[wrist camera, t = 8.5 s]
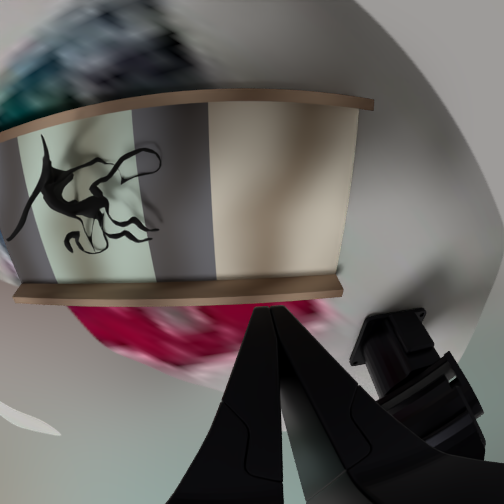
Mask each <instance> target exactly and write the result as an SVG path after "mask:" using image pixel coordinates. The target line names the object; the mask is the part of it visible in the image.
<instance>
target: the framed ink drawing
mask: <svg viewBox="0 0 504 504" xmlns="http://www.w3.org/2000/svg"><path fill="white" fill-rule="evenodd" d="M359 109H364V110H370V111H373V110H374V99H368V98H362V97H355V96H349V95H341V94H333V93H324V92H314V91H302V90H286V89H255V88H237V89H206V90H191V91H179V92H168V93H159V94H151V95H144V96H137V97H131V98H124V99H119V100H113V101H108V102H103V103H98V104H93V105H89V106H84V107H80V108H76V109H72V110H68V111H64V112H61V113H57V114H53V115H50V116H47V117H43V118H40V119H37V120H34V121H31V122H28V123H25V124H22V125H19V126H16V127H13V128H11V129H8V130H5V131H3V132H0V230H1V233H2V236H3V239H4V241H5V244H6V247H7V249H8V252H9V255H10V257H11V260H12V262H13V264H14V267H15V269H16V272H17V274H18V276H19V278H20V281H21V283H22V284H21V285H20V287H19V288H18V289H17V291H16V292H15V294H14V295H13V299H14V301H15V303H24V304H42V305H66V306H109V307H155V306H202V305H228V304H249V303H266V302H282V301H296V300H309V299H321V298H333V297H342V294H343V290H344V289H343V287H342V285H341V283H340V282H339V280H338V278H337V276H336V269H337V264H338V259H339V254H340V249H341V243H342V238H343V232H344V226H345V221H346V214H347V208H348V202H349V195H350V188H351V181H352V173H353V165H354V157H355V148H356V138H357V128H358V116H359ZM41 134H42V135H43V137H44V139H45V142H46V145H47V148H48V151H49V156H50V158H49V159H50V160H51V162H52V167H54V168H56V169H59V170H63V171H67V170H69V169H72V168H75V167H77V166H80V165H82V164H85V163H87V162H89V161H91V160H92V159H94V158H96V157H100V158H101V159H102V160H103V161H105V162H106V163H113V164H114V165H115V163H116V162H117V161H118V159H119V158H120V157H121V156H123V155H124V154H126V153H128V152H131V151H133V150H136V149H138V148H149V149H152V150H154V151H155V152H157V153H158V155H159V156H160V158H161V168H160V169H159V170H158V171H157V172H155V173H153V174H148V175H144V176H139V177H135V178H133V179H131V180H129V181H127V182H125V183H123V184H122V185H121V176H122V177H123V178H124V179H127V178H131V177H133V176H136V175H139V174H141V173H150V172H154V171H156V170H157V169H158V168H159V162H160V161H159V159H158V158H157V156H156V154H153V153H149V152H145V151H142V152H140V153H138V154H136V155H134V156H132V157H130V158H128V159H126V160H125V161H123V163H122V164H121V165H120V167H119V168H118V169H119V170H117V171H116V172H115V174H114V175H113V177H112V178H110V179H109V180H108V181H107V182H104V183H100V184H99V185H98V186H97V187H99V189H100V190H101V191H102V192H103V196H105V197H106V198H107V199H108V201H109V215H110V216H111V218H112V219H113V220H116V221H118V222H123V221H128V220H129V219H130V218H131V217H133V216H134V217H137V218H138V219H139V220H140V221H141V223H142V224H143V225H144V226H145V227H146V228H148V229H155V228H158V229H159V231H153V232H150V231H149V232H145V231H143V230H141V229H139V228H138V227H137V226H136V225H135V224H132V223H131V224H130V225H129V226H126V227H120V226H117V225H115V224H114V223H113V222H112V221H111V220H110V218H109V217H108V215H107V213H106V211H105V207H104V208H101V209H100V211H101V213H102V214H103V213H104V217H103V229H104V231H105V232H106V233H109V234H115V233H121V232H122V231H123V230H127V231H129V232H131V233H132V234H133V235H134V236H135V237H136V238H137V239H139V240H143V239H145V238H153V239H152V240H149V241H145V242H141V243H135V242H134V241H132V240H129V239H128V238H127V237H126V236H123V237H121V238H118V239H112V238H109V237H108V236H107V235H106V234H105V235H106V238H107V241H108V249H106V250H105V251H103V252H101V253H98V254H87V253H85V252H83V251H82V250H80V249H79V248H78V246H77V245H76V242H75V238H71V239H70V241H69V242H70V244H71V246H72V249H73V253H71V252H70V251H68V250H67V248H66V247H65V244H64V239H65V237H66V235H67V234H68V233H70V232H71V231H80V238H79V242H80V244H81V245H82V247H83V249H84V250H85V251H87V252H91V253H96V252H100V251H102V250H103V249H105V248H106V244H107V243H106V241H105V239H104V236H103V232H102V230H101V227H100V226H99V222H98V220H97V219H95V221H94V225H93V220H94V219H93V218H88V217H85V216H82V215H76V216H78V217H80V218H81V219H82V221H83V225H84V228H85V231H86V233H87V235H88V236H89V237H90V236H91V232H92V243H93V247H94V249H95V251H94V249H93V247H92V246H91V243H90V242H89V240H88V238H87V236H86V234H85V232H84V228H83V225H82V223H81V222H80V221H79V220H78V219H75V218H71V217H68V216H66V215H64V214H61V213H58V212H56V211H54V210H52V209H51V208H50V207H49V206H48V205H47V204H46V202H45V200H44V199H43V195H42V193H41V192H40V193H39V194H38V196H37V197H36V199H35V200H34V202H33V204H32V205H31V207H30V210H29V212H28V216H27V219H26V222H25V224H24V226H23V228H22V229H21V230H20V232H19V233H18V234H17V235H16V236H15V237H14V238H13V239H12V240H11V241H9V242H8V241H7V240H6V239H7V238H9V237H10V236H11V234H12V233H13V231H14V230H15V229H16V227H17V225H18V223H19V220H20V218H21V216H22V213H23V210H24V208H25V206H26V203H27V202H28V200H29V198H30V196H31V194H32V192H33V191H34V189H35V187H36V185H37V183H38V181H39V178H40V176H41V172H42V165H43V160H42V159H43V156H44V148H43V143H42V138H41ZM114 165H111V164H103V163H100V162H97V163H95V164H93V165H91V166H87V167H84V168H81V169H79V170H77V171H75V172H73V174H74V177H73V180H72V181H71V182H69V183H68V184H67V185H66V186H65V188H64V190H63V193H62V196H63V198H64V199H65V200H66V201H68V202H69V201H72V200H77V201H78V202H79V201H82V200H84V199H86V198H88V197H90V196H93V194H92V193H91V192H90V190H89V188H90V186H91V184H92V183H93V182H95V181H96V180H98V179H99V178H101V177H105V176H106V175H107V174H108V173H109V172H110V171H111V169H112V168H113V166H114ZM119 171H120V172H119ZM120 174H121V175H120ZM92 226H93V231H92Z"/></svg>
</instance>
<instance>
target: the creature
mask: <svg viewBox="0 0 504 504" xmlns="http://www.w3.org/2000/svg"><path fill="white" fill-rule="evenodd" d="M41 138H42V143H43V148H44V156H43V159H42V160H43V165H42V172H41V176H40V178H39V181H38V183H37V185H36V187H35V189H34V191H33V192H32V194H31V196H30V198H29V200H28V202H27V203H26V206H25V208H24V210H23V213H22V216H21V218H20V220H19V223H18V225H17V227H16V229H15V230H14V231H13V233H12V234H11V236H10V237H9V238H7V239H6V240H7V241H8V242H9V241H11V240H12V239H13V238H14V237H15V236H16V235H17V234H18V233H19V232H20V230H21V229H22V228H23V226H24V224H25V222H26V219H27V216H28V212H29V210H30V207H31V205H32V204H33V202H34V200H35V199H36V197H37V196H38V194H39V193H40V192H41V193H42V195H43V199H44V200H45V202H46V204H47V205H48V206H49V207H50V208H51V209H52V210H54V211H56V212H58V213H61V214H64V215H66V216H68V217H71V218H75V219H78V220H79V221H80V222H81V223H82V225H83V221H82V219H81V218H80V217H78V216H76V215H82V216H85V217H88V218H93V219H94V220H93V225H94V221H95V219H97V220H98V222H99V226H100V227H101V230H102V232H103V236H104V239H105V241H106V243H107V244H106V248H105V249H103V250H102V251H100V252H96V253H91V252H87V251H85V250H84V249H83V247H82V245H81V244H80V242H79V238H80V231H71V232H70V233H68V234H67V235H66V237H65V239H64V244H65V247H66V248H67V250H68V251H70V252H71V253H73V249H72V246H71V244H70V242H69V241H70V239H71V238H75V242H76V245H77V246H78V248H79V249H80V250H82V251H83V252H85V253H87V254H98V253H101V252H103V251H105V250H106V249H108V241H107V238H106V235H107V236H108V237H109V238H112V239H118V238H121V237H123V236H126V237H127V238H128V239H129V240H132V241H134V242H135V243H141V242H145V241H149V240H152V239H153V238H145V239H143V240H139V239H137V238H136V237H135V236H134V235H133V234H132V233H131V232H129V231H127V230H123V231H122V232H121V233H115V234H109V233H106V232H105V231H104V229H103V217H104V213H103V214H102V213H101V211H100V209H101V208H104V207H105V211H106V213H107V215H108V217H109V218H110V220H111V221H112V222H113V223H114V224H115V225H117V226H120V227H126V226H129V225H130V224H131V223H132V224H135V225H136V226H137V227H138V228H139V229H141V230H143V231H145V232H149V231H150V232H153V231H159V229H158V228H155V229H148V228H146V227H145V226H144V225H143V224H142V223H141V221H140V220H139V219H138V218H137V217H134V216H133V217H131V218H130V219H129V220H128V221H123V222H118V221H116V220H113V219H112V218H111V216H110V215H109V201H108V199H107V198H106V197H105V196H103V192H102V191H101V190H100V189H99V187H97V186H98V185H99V184H100V183H104V182H107V181H108V180H109V179H110V178H112V177H113V175H114V174H115V172H116V171H117V170H119V169H118V168H119V167H120V165H121V164H122V163H123V161H125V160H126V159H128V158H130V157H132V156H134V155H136V154H138V153H140V152H142V151H145V152H149V153H153V154H156V156H157V158H158V159H159V161H160V162H159V168H158V169H157V170H156V171H154V172H150V173H141V174H139V175H136V176H133V177H131V178H127V179H124V178H123V177H122V176H121V185H122V184H123V183H125V182H127V181H129V180H131V179H133V178H135V177H139V176H144V175H148V174H153V173H155V172H157V171H158V170H159V169H160V168H161V158H160V156H159V155H158V153H157V152H155V151H154V150H152V149H149V148H138V149H136V150H133V151H131V152H128V153H126V154H124V155H123V156H121V157H120V158H119V159H118V161H117V162H116V163H115V165H114V164H113V163H106V162H105V161H103V160H102V159H101V158H100V157H96V158H94V159H92V160H91V161H89V162H87V163H85V164H82V165H80V166H77V167H75V168H72V169H69V170H67V171H63V170H59V169H56V168H54V167H52V162H51V160H50V159H49V158H50V156H49V151H48V148H47V145H46V142H45V139H44V137H43V135H42V134H41ZM97 162H100V163H103V164H111V165H114V166H113V168H112V169H111V171H110V172H109V173H108V174H107V175H106V176H105V177H101V178H99V179H98V180H96V181H95V182H93V183H92V184H91V186H90V188H89V190H90V192H91V193H92V194H93V196H90V197H88V198H86V199H84V200H82V201H79V202H78V201H77V200H72V201H69V202H68V201H66V200H65V199H64V198H63V196H62V193H63V190H64V188H65V186H66V185H67V184H68V183H69V182H71V181H72V180H73V177H74V174H73V172H75V171H77V170H79V169H81V168H84V167H87V166H91V165H93V164H95V163H97ZM119 172H120V171H119ZM120 175H121V174H120ZM83 228H84V225H83ZM92 231H93V226H92ZM84 232H85V234H86V236H87V238H88V240H89V242H90V243H91V246H92V247H93V243H92V232H91V236H90V237H89V236H88V235H87V233H86V231H85V228H84ZM105 234H106V235H105ZM93 249H94V247H93ZM94 251H95V249H94Z"/></svg>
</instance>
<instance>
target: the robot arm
mask: <svg viewBox="0 0 504 504" xmlns="http://www.w3.org/2000/svg"><path fill="white" fill-rule="evenodd" d="M425 315H426V311H425V309H424V308H419V309H413V310H407V311H401V312H395V313H389V314H382V315H375V316H370V317H368V318H367V319H366V320H365V322H364V325H363V327H362V330H361V333H360V335H359V338H358V341H357V343H356V346H355V348H354V351H353V353H352V356H351V358H350V361H349V362H350V365H351V366H357V365H362V364H366V367H367V369H368V371H369V374H370V376H371V379H372V381H373V384H374V386H375V389H376V391H377V394H378V396H379V400H377V401H375V400H374V399H373V398H372V397H371V396H370V395H369V394H368V393H367V392H366V391H365V390H364V389H363V388H362V387H361V386H360V385H358V383H357V382H356V381H355V380H354V379H353V378H352V377H351V376H350V374H349V373H348V372H347V371H346V370H345V369H344V368H343V367H342V366H341V365H340V364H339V363H338V362H337V361H336V360H335V359H334V358H333V357H332V356H331V355H330V354H329V352H328V351H327V350H326V349H325V348H324V347H323V346H322V345H321V344H320V343H319V342H318V341H317V340H316V339H315V338H314V337H313V336H312V335H311V333H310V332H309V331H308V330H307V329H306V328H305V327H304V326H303V325H302V324H301V323H300V322H299V321H298V320H297V319H296V318H295V316H294V315H293V314H292V313H291V312H290V311H289V310H288V309H287V308H286V307H285V306H283V305H278V306H271V307H270V308H269V307H268V306H262V307H255V308H254V310H253V313H252V316H251V318H250V321H249V324H248V327H247V330H246V333H245V336H244V339H243V341H242V344H241V347H240V350H239V353H238V356H237V358H236V361H235V364H234V367H233V370H232V372H231V375H230V378H229V381H228V383H227V386H226V389H225V392H224V395H223V397H222V402H221V403H220V405H219V408H218V410H217V413H216V416H215V418H214V421H213V423H212V425H211V428H210V430H209V432H208V434H207V436H206V438H205V440H204V442H203V444H202V446H201V448H200V449H199V451H198V453H197V455H196V456H195V458H194V460H193V462H192V463H191V465H190V467H189V468H188V470H187V472H186V474H185V475H184V477H183V478H182V480H181V482H180V484H179V485H178V487H177V488H176V490H175V491H174V493H173V494H172V496H171V497H170V498H169V500H168V501H167V502H166V503H165V504H284V498H283V483H282V482H283V461H282V427H281V410H282V414H283V418H284V421H285V425H286V429H287V433H288V436H289V440H290V444H291V448H292V452H293V455H294V459H295V463H296V467H297V470H298V474H299V478H300V482H301V485H302V489H303V493H304V496H305V500H306V501H307V502H306V504H504V463H497V462H489V461H484V456H485V445H486V441H485V438H484V436H483V434H482V431H481V429H480V427H479V425H478V423H477V421H476V419H477V418H478V417H480V416H481V415H482V414H484V412H483V409H482V407H481V405H480V403H479V401H478V399H477V397H476V395H475V393H474V392H473V389H472V387H471V386H470V384H469V382H468V381H467V379H466V377H465V375H464V374H463V372H462V371H461V369H460V368H459V366H458V364H457V362H456V361H455V359H454V357H453V356H452V354H451V353H450V351H448V352H447V353H445V354H444V356H443V357H442V358H440V357H439V355H438V353H437V351H436V350H435V348H434V342H433V340H432V339H431V337H430V335H429V334H428V332H427V331H426V329H425V327H424V326H423V324H422V321H423V319H424V317H425ZM454 376H456V378H455V379H454V380H452V381H451V382H450V383H449V380H450V379H451V378H453V377H454Z"/></svg>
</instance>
